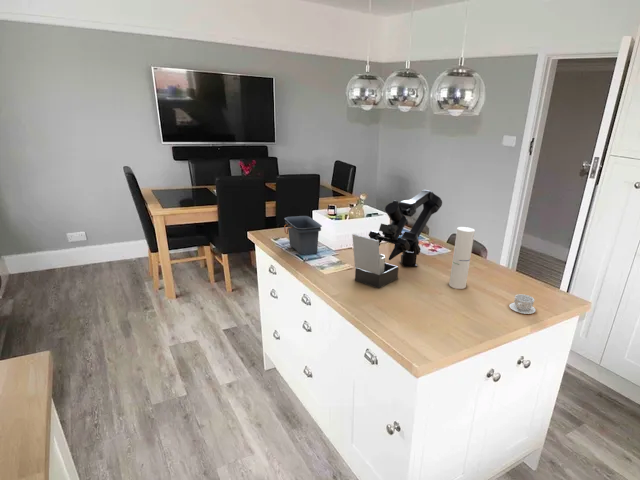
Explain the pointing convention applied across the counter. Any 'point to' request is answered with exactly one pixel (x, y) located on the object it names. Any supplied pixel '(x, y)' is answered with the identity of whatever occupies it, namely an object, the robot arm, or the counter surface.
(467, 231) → the cylindrical container
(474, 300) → the counter surface
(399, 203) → the robot arm
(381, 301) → the counter surface
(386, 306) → the counter surface
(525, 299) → the teacup
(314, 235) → the storage bin
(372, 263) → the grey flat rectangular panel
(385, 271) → the dark grey open box
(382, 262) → the white cup
